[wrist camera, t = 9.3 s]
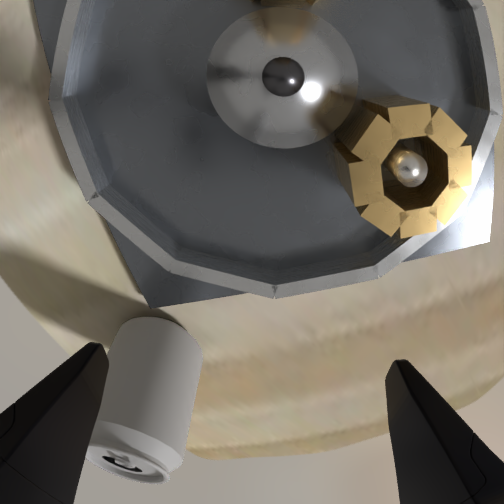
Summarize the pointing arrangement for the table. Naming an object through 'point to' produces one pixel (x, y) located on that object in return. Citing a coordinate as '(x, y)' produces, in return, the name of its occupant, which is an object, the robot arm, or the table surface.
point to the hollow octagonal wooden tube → (286, 3)
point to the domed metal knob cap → (282, 77)
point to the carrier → (251, 154)
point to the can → (146, 401)
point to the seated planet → (394, 192)
